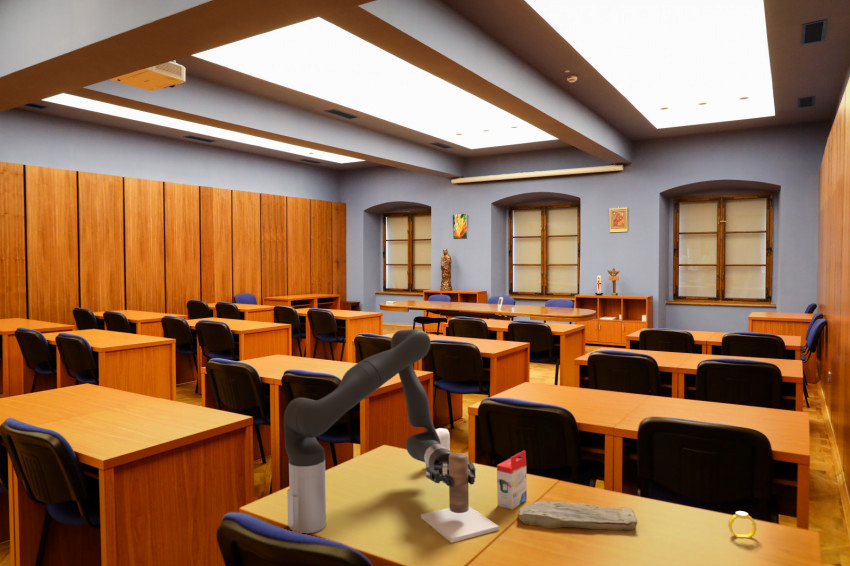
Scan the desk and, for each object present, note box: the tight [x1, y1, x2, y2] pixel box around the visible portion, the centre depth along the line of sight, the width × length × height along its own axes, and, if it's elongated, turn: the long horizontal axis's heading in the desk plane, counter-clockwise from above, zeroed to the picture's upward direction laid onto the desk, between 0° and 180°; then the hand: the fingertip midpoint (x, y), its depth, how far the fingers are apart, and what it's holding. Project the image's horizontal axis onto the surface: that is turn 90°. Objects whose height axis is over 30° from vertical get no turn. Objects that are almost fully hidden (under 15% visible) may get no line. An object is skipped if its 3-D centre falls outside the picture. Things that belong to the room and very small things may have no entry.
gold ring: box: [727, 510, 757, 539], centre depth 140 cm, size 6×3×6 cm, turn 82°
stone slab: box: [518, 501, 638, 531], centre depth 151 cm, size 12×4×30 cm
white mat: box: [420, 505, 500, 544], centre depth 149 cm, size 14×16×1 cm
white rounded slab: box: [425, 427, 451, 468], centre depth 194 cm, size 10×4×12 cm, turn 143°
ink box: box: [496, 450, 528, 510], centre depth 162 cm, size 8×5×15 cm, turn 141°
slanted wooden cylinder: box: [448, 452, 470, 513], centre depth 149 cm, size 5×5×14 cm
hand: (462, 482), depth 147 cm, fingers closed on slanted wooden cylinder, 5 cm apart
